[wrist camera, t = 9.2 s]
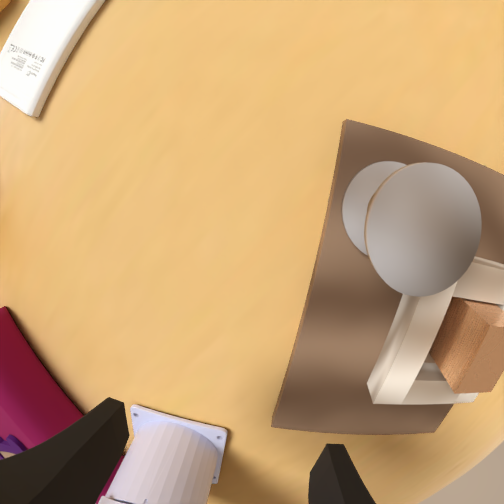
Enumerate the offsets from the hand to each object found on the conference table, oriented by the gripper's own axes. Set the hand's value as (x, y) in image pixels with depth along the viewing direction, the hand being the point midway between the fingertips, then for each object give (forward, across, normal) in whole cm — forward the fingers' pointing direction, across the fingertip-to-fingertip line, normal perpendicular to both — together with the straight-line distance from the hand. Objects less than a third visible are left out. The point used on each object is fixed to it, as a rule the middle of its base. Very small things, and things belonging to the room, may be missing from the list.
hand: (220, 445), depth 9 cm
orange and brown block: (+8, -12, -3) cm, 15 cm away
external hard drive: (+10, +18, -18) cm, 27 cm away
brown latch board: (+9, -10, -2) cm, 14 cm away
